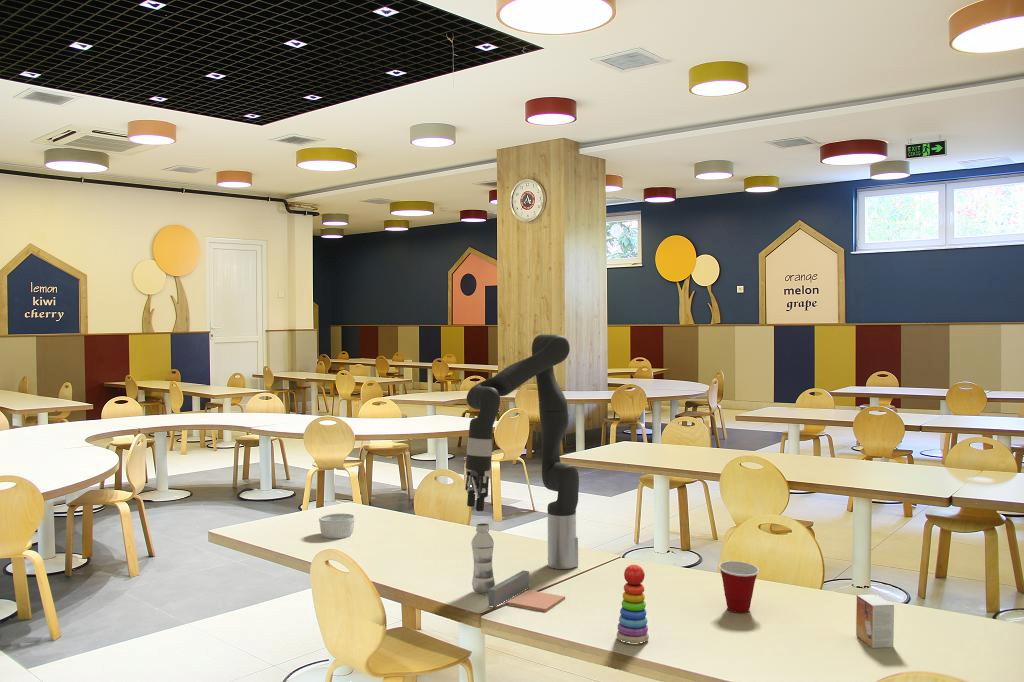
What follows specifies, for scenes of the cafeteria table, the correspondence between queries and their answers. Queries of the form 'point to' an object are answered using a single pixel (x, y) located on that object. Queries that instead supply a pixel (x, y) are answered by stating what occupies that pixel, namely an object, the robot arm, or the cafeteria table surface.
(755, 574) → the plastic cup
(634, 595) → the stacking toy
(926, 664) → the cafeteria table surface
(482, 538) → the plastic bottle
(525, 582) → the low wall
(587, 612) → the cafeteria table surface
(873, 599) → the small box
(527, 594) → the mat
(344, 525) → the ramekin
